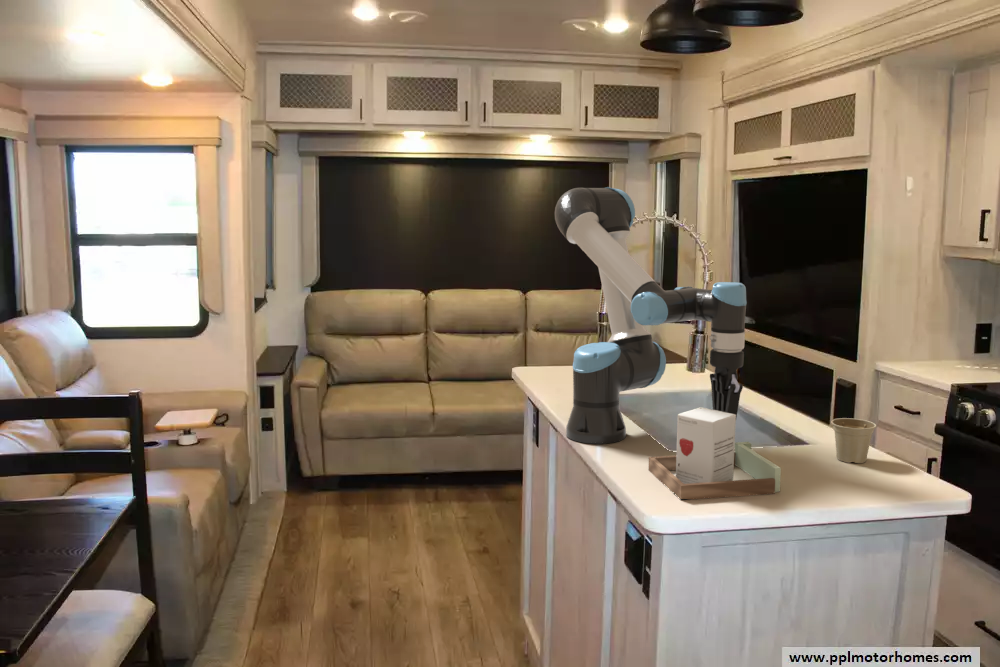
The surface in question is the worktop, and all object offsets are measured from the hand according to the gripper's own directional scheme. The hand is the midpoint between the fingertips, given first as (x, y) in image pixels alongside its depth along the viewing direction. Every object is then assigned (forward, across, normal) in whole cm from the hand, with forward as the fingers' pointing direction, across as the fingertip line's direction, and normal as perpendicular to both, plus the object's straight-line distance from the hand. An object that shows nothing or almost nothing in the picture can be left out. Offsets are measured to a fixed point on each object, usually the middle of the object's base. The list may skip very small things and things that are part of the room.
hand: (723, 447), depth 190 cm
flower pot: (+1, +10, +27) cm, 29 cm away
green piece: (+1, +17, +1) cm, 17 cm away
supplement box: (+2, +18, -12) cm, 22 cm away
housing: (+1, +18, -11) cm, 21 cm away
